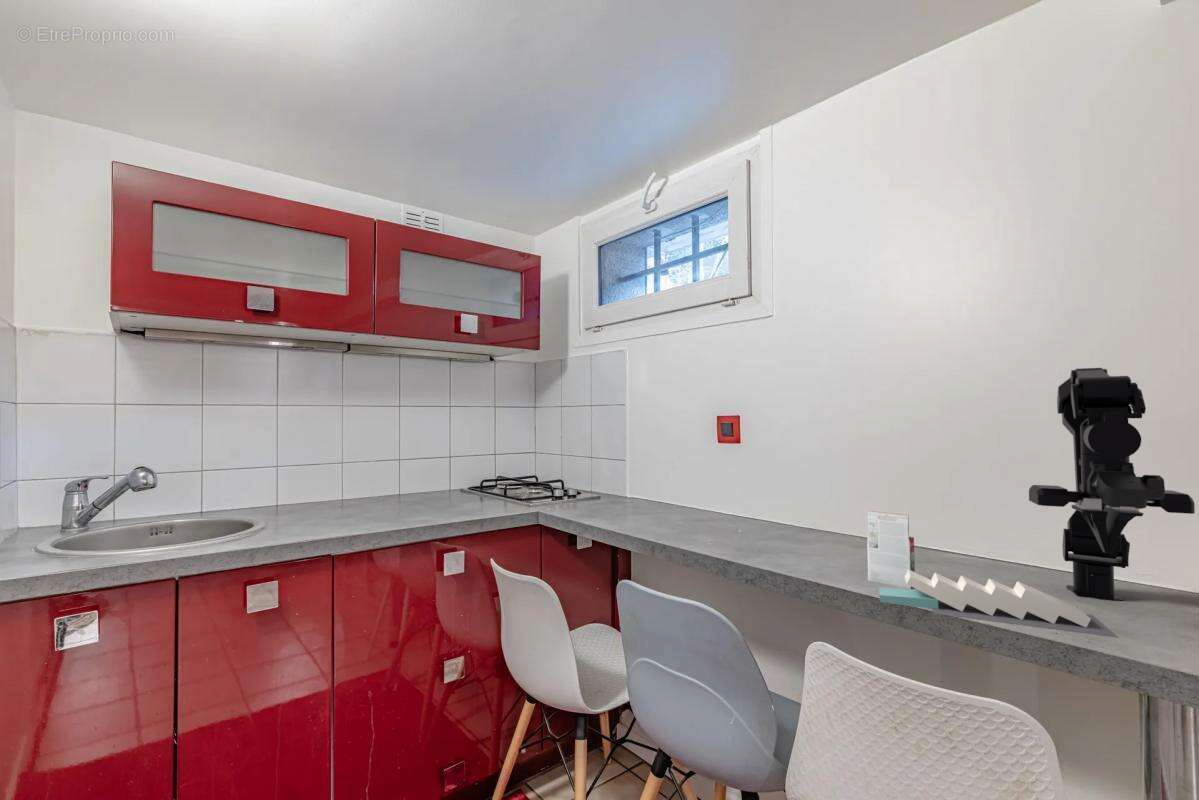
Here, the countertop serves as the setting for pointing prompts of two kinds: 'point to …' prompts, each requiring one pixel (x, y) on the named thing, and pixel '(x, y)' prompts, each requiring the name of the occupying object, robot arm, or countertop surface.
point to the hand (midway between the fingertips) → (1107, 552)
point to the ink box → (889, 549)
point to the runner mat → (1026, 620)
